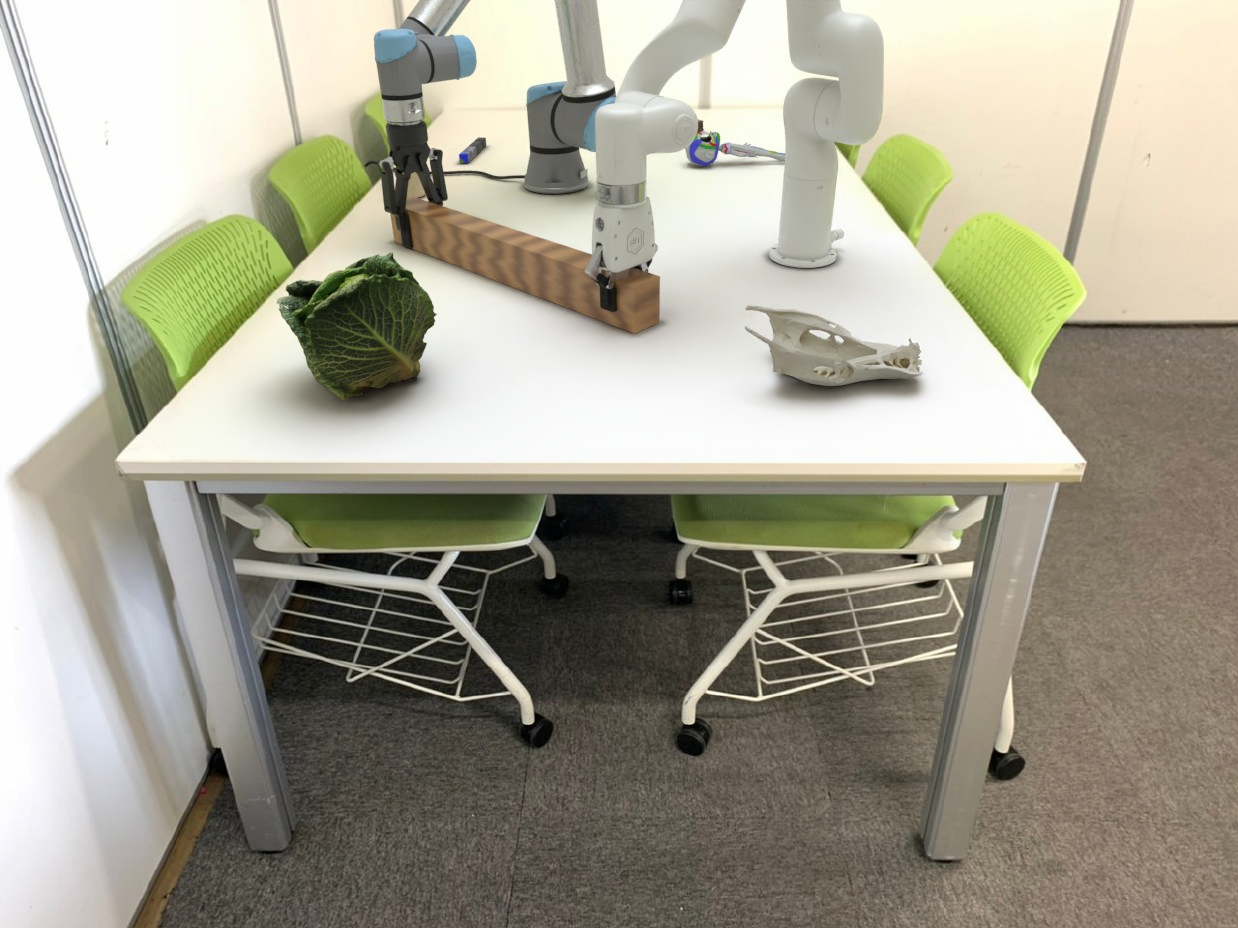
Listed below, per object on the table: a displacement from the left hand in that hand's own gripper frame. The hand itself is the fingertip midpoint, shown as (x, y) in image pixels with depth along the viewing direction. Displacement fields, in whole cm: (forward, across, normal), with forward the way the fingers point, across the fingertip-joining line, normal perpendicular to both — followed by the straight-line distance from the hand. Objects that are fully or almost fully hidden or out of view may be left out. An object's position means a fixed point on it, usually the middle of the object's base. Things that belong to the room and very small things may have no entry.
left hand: (421, 242), depth 180 cm
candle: (0, +19, +31) cm, 36 cm away
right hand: (-2, 0, -56) cm, 56 cm away
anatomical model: (0, +5, -92) cm, 93 cm away
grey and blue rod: (0, +53, +52) cm, 74 cm away
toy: (0, +93, -9) cm, 94 cm away
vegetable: (0, -41, -45) cm, 61 cm away
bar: (0, 0, -28) cm, 28 cm away
